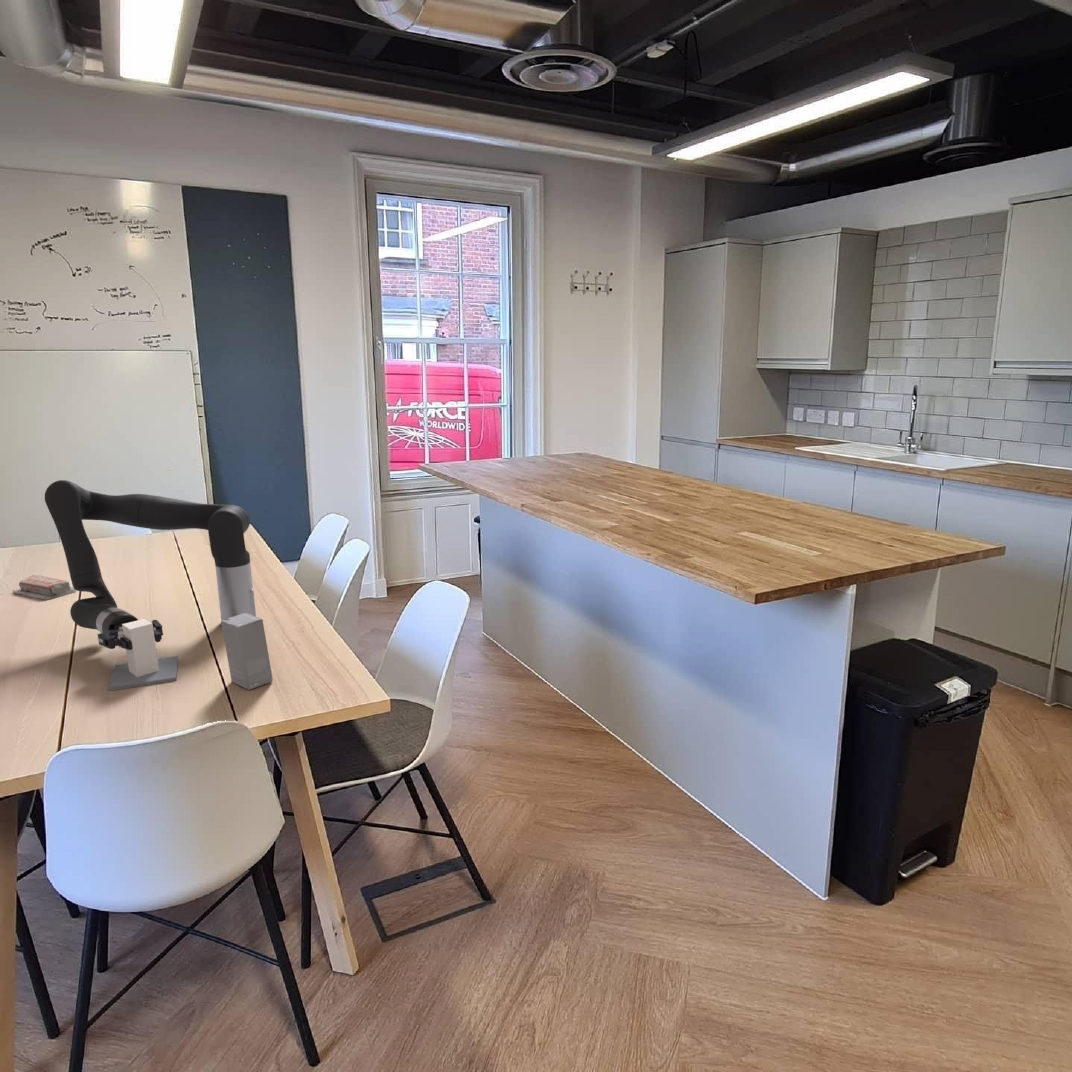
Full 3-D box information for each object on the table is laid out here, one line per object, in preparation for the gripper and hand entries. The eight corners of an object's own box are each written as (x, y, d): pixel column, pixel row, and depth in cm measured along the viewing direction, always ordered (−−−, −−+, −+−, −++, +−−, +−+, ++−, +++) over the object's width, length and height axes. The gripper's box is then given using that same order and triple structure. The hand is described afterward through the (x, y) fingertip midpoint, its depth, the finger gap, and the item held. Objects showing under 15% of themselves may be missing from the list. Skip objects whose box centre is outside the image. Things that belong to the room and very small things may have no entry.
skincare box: (273, 682, 178) (267, 618, 174) (244, 692, 173) (237, 626, 169) (255, 672, 183) (248, 610, 179) (226, 682, 178) (219, 618, 174)
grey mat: (178, 658, 192) (178, 655, 191) (176, 680, 179) (175, 677, 179) (115, 667, 186) (115, 664, 186) (108, 690, 174) (108, 687, 174)
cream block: (150, 665, 186) (144, 618, 183) (159, 670, 183) (152, 623, 180) (129, 671, 182) (121, 624, 179) (137, 677, 179) (130, 629, 176)
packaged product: (75, 578, 245) (44, 587, 236) (77, 592, 246) (46, 601, 238) (41, 571, 253) (9, 579, 244) (43, 585, 254) (12, 594, 245)
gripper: (83, 618, 184) (109, 635, 173) (145, 603, 194) (173, 618, 183) (88, 647, 186) (114, 666, 175) (149, 631, 196) (177, 648, 185)
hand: (144, 641), depth 179 cm, fingers open, 6 cm apart
